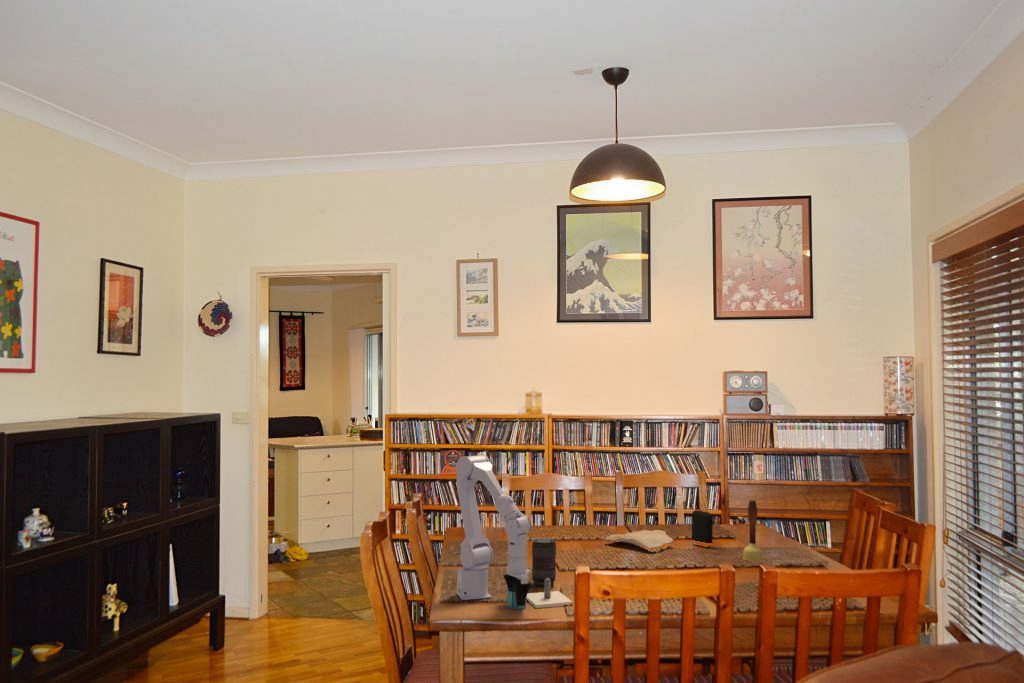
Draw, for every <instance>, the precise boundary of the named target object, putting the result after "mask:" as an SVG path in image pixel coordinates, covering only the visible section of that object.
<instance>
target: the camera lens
mask: <svg viewBox="0 0 1024 683" xmlns="http://www.w3.org/2000/svg"><path fill="white" fill-rule="evenodd" d="M531 557H532V561H531V562H532V563H531V565H532V567H531V577H532V578H531V579H532V582H533V583H532V584H533V586H534V585H536V586H537V587H536V588H539V589H544V581H545V579H546V578H549V579H550V580H551V588H552V587H554V582H555V581H556V566H557V565H556V557H557V543H556V540H555V539H554V538H545V537H543V538H535V539H532V544H531Z"/></svg>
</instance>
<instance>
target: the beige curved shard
mask: <svg viewBox="0 0 1024 683" xmlns="http://www.w3.org/2000/svg"><path fill="white" fill-rule="evenodd" d="M603 541H604V542H608V541H619V542H618V543H627V544H632V545H634V546H637V547H639V546H640V547H639V548H641V547H646V548H655V547H659V546H662V545H663V544H670V543H672V544H674V539H673V538H672V537H670V536H669V535H668V534H666V531H665V530H659V529H654V530H649V529H647V530H646V529H643V530H642V529H641V531H639V530H638V531H632V532H627V533H626V534H619V533H617V534H616V533H615V534H611V535H608V536H605V538H604V539H603Z"/></svg>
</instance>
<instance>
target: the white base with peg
mask: <svg viewBox="0 0 1024 683" xmlns="http://www.w3.org/2000/svg"><path fill="white" fill-rule="evenodd" d="M551 590H552V587H551V580H550V579H549V578H546V579H545V581H544V588H543V592H542V591H541V592H529V593H527V597H526V599H527V600H528V601H529V602H528V601H527V600H526V601H527V602H528V603H529V604H530V605H532V607H534V608H535V609H541V608H554V607H565V606H564V605H565V604H568V603H573V602H574V601H572V600H571V599H569V597H567V596H566V595H564V594H563V593H562V592H560V590H554V591H551ZM573 604H574V603H573Z"/></svg>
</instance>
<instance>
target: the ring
mask: <svg viewBox="0 0 1024 683" xmlns="http://www.w3.org/2000/svg"><path fill="white" fill-rule="evenodd" d="M506 605H507V606H506V607H507V608H508V609H510V610H525V609H526V608H527V600H526V601H525V605H524V606H517V602H516V594H515V589H514V587H512V588H509V589H508V588H507V601H506Z"/></svg>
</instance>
